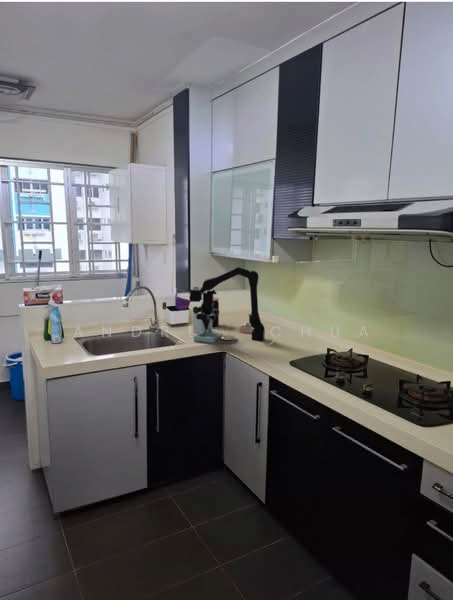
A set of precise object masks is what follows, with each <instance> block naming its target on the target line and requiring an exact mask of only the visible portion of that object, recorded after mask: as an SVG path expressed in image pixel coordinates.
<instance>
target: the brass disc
mask: <svg viewBox="0 0 453 600" xmlns="http://www.w3.org/2000/svg"><path fill="white" fill-rule="evenodd" d="M235 338H236V337H235V335H231V334H222V336H220V339H221V340H234V339H235Z"/></svg>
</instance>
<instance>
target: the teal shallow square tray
mask: <svg viewBox="0 0 453 600" xmlns="http://www.w3.org/2000/svg"><path fill="white" fill-rule="evenodd" d="M222 335H223V333H222V332H221V333H220V332H212V333H204V332H201V333H196V335H193V342H196V343H203V344H209V345H210V344H212V345H214V344H216V343H217V340H219V339H220V336H222Z"/></svg>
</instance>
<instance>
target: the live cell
mask: <svg viewBox="0 0 453 600" xmlns="http://www.w3.org/2000/svg"><path fill="white" fill-rule="evenodd" d="M204 333H213V327H212V318H211V320H210V323H209V327H208V330H205V327H204Z"/></svg>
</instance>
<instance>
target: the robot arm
mask: <svg viewBox="0 0 453 600" xmlns="http://www.w3.org/2000/svg"><path fill="white" fill-rule="evenodd" d="M238 275H239V276H242V277H243V278H244V277H245V278H246V279H247V280H248V284H249V291H250V307H251V312H250V314H249V313H248V318H249V319H248V323H250V325H251V326H252V327H253V328H254V329H253V332H252V333H251V341H254V342H263V341H264V340H266V338H265V336H266V335H265V333H266V332H265V331H266V329H265V326H264V324H263V323H262V321H261V317H260V314H259V303H258V284H259V283H258V282H259V274H258V272H257V271H256V270H254V269H251V270H248V269H247V268H246V269H245V268H242V267H241V266H236V267H235V268H233V269H231V270H228V271H226V272H224V273H222V274H220V275H217V276H215V277H210V278H207V279H206V278H205V280H204V281H203V283H202V287H200V288H199V289H190V290H189V302H190V303H200V302H201V301H202V302H203V304H202V303H201V305H200V306H193V308H192V313H193V312H194V313H195V314H197V313H199V312H201V313H199V314H197V315H196V319H199V320H202V321H203V324H204V327H205V330H208V327H209V323H210V320H211V318H212V325H213V322H214V320H215V318H216V317H217V315H218V314H219V315H220V310H218V309H213V306H214V305H215V303H213V297H214V295H217V291H216V290H215V289H214V288H215V287H216V286H218V285H219V284H221V283H224V282H226V281H227V280H230V279H232V278H234V277H236V276H238ZM202 298H203V300H202ZM215 314H217V315H215Z"/></svg>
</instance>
